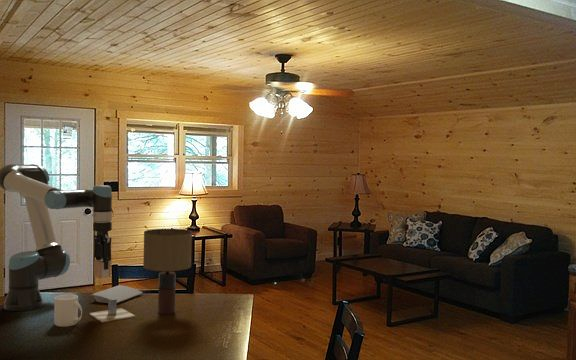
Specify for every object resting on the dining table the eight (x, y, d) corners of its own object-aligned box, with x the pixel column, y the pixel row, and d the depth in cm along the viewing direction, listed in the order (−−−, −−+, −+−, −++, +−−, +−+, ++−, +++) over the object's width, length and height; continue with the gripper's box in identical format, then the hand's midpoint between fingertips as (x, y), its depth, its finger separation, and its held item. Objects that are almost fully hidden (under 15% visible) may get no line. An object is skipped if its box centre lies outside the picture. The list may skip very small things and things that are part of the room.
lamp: (132, 314, 227) (134, 232, 226) (160, 303, 246) (162, 227, 245) (172, 321, 220) (174, 236, 219) (198, 309, 239) (200, 230, 237)
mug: (73, 329, 206) (74, 301, 206) (49, 325, 210) (49, 298, 210) (89, 323, 214) (89, 296, 214) (65, 319, 218) (66, 293, 218)
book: (86, 303, 245) (86, 294, 245) (117, 292, 267) (117, 284, 267) (114, 307, 240) (114, 298, 240) (144, 295, 262) (144, 287, 262)
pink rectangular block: (94, 276, 231) (94, 260, 230) (106, 274, 234) (106, 259, 234) (98, 278, 227) (98, 262, 226) (110, 276, 230) (110, 260, 230)
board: (89, 314, 226) (89, 313, 226) (121, 309, 235) (121, 307, 235) (101, 322, 215) (101, 321, 215) (135, 317, 224) (135, 315, 224)
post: (107, 315, 226) (108, 298, 225) (113, 314, 227) (114, 298, 227) (110, 317, 224) (110, 300, 223) (116, 316, 225) (116, 299, 225)
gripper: (85, 220, 234) (85, 273, 235) (102, 223, 220) (102, 280, 221) (102, 219, 239) (102, 271, 240) (119, 222, 225) (119, 278, 226)
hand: (102, 275), depth 230 cm, fingers closed on pink rectangular block, 5 cm apart
